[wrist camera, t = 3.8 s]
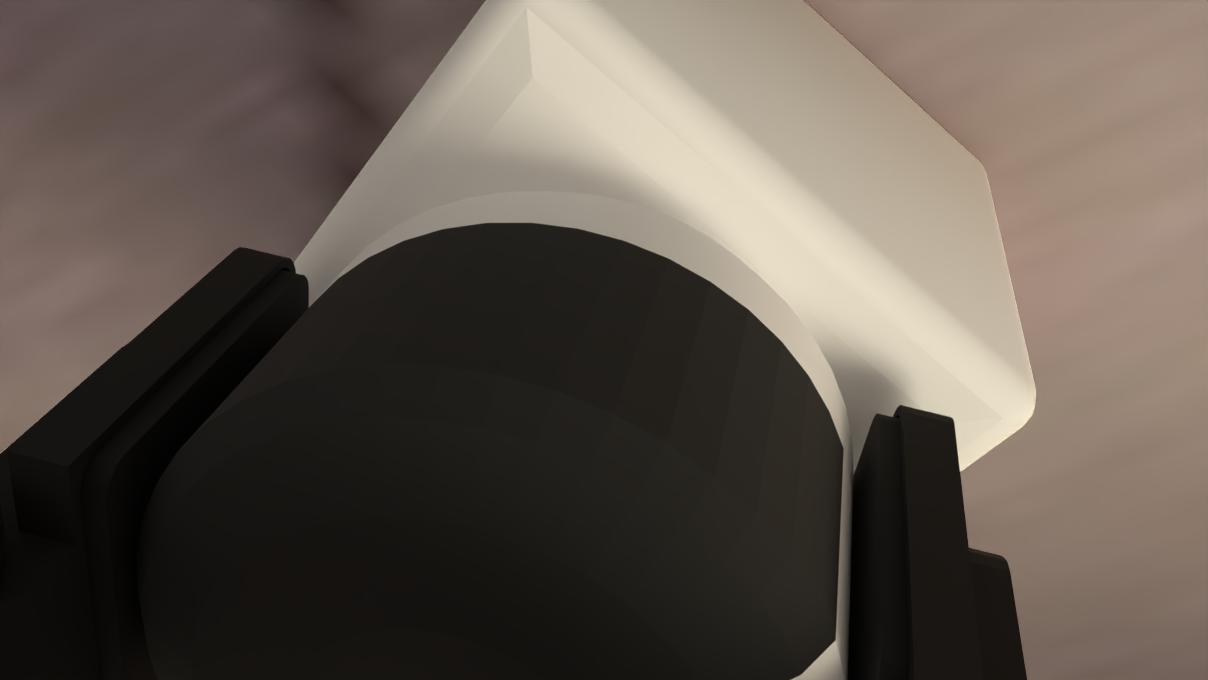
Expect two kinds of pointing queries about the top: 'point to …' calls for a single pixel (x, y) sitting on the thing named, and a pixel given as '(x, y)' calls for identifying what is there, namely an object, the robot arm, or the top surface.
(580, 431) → the medicine bottle
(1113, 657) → the top surface
